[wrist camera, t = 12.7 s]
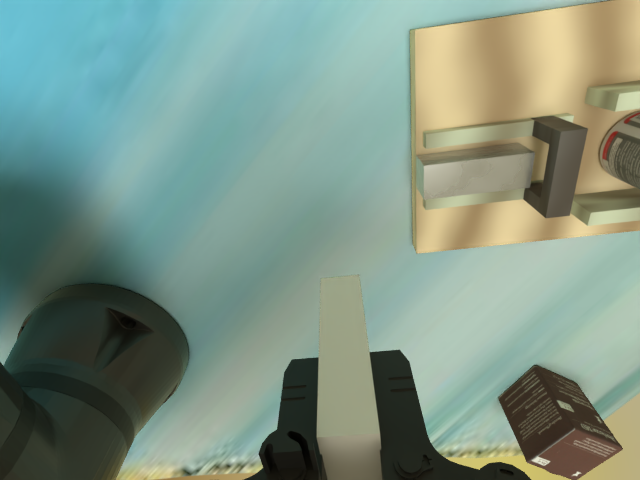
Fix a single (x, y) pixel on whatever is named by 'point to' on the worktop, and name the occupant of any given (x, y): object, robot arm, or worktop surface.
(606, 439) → the box
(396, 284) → the worktop surface
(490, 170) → the pin
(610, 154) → the pill bottle
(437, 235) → the mount
